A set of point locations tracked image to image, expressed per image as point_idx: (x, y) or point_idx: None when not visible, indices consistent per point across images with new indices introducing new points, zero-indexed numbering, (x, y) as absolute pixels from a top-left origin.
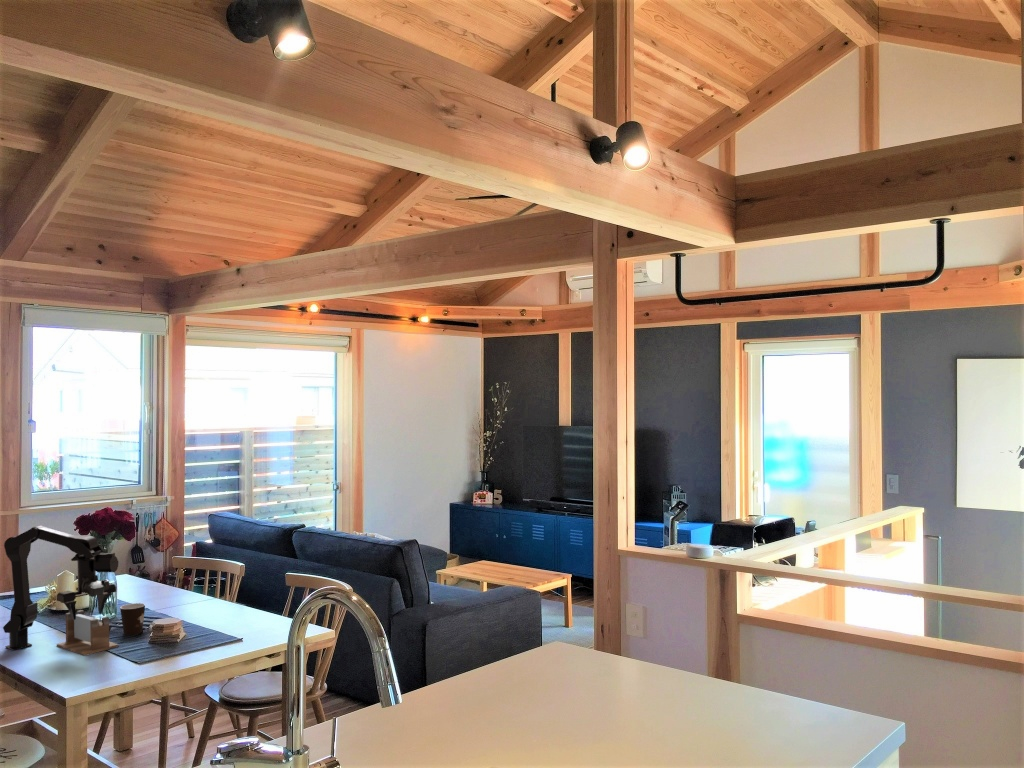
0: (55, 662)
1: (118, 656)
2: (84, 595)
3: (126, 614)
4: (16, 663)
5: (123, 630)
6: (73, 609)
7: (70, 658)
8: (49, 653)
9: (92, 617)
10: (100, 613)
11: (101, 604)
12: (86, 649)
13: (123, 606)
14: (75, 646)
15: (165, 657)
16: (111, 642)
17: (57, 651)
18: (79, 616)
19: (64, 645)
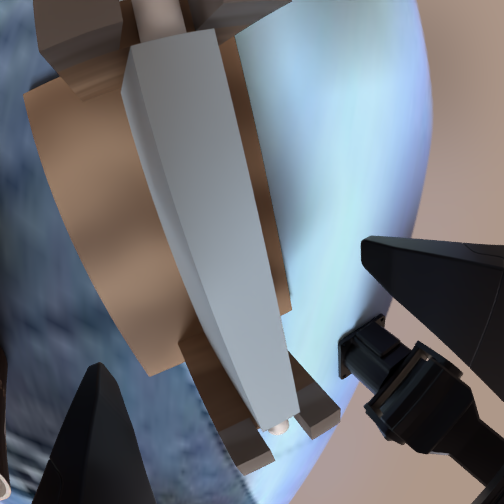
0: (344, 39)
1: None
2: (501, 478)
3: None
4: (417, 149)
5: (1, 365)
6: (476, 251)
7: (290, 41)
8: (333, 203)
9: (196, 268)
10: (100, 364)
11: (96, 460)
12: None
13: (3, 491)
14: None
15: None
16: (47, 170)
17: (305, 215)
18: (287, 368)
19: (275, 266)
